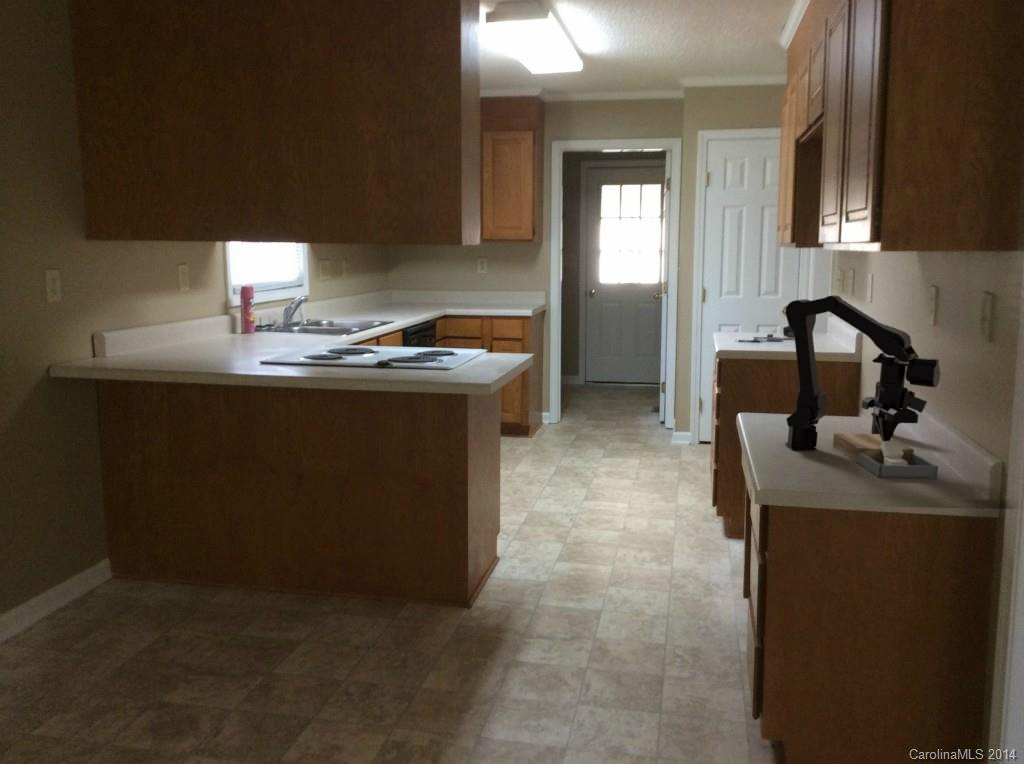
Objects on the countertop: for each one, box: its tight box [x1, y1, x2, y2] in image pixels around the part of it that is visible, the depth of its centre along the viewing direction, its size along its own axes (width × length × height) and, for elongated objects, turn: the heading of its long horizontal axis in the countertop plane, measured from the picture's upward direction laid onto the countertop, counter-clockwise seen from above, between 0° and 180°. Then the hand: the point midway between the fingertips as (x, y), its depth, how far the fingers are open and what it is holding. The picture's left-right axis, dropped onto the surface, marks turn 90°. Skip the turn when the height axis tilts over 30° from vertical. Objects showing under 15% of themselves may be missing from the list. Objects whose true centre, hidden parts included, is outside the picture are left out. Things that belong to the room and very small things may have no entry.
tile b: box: [883, 457, 908, 465], centre depth 215 cm, size 4×4×2 cm
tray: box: [856, 452, 939, 479], centre depth 214 cm, size 14×12×3 cm
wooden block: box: [832, 432, 915, 464], centre depth 227 cm, size 14×16×4 cm
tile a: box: [880, 440, 903, 458], centre depth 218 cm, size 4×4×2 cm
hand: (885, 443), depth 220 cm, fingers closed
